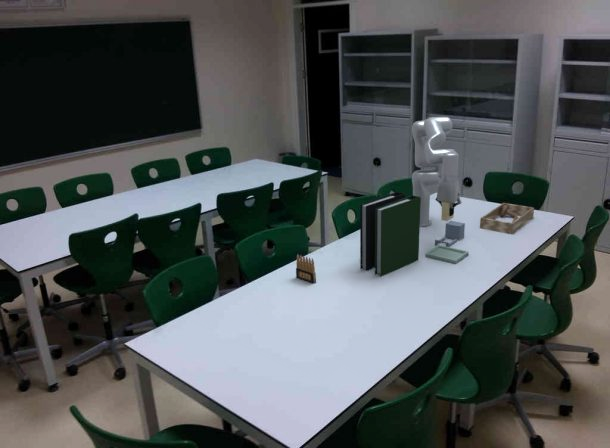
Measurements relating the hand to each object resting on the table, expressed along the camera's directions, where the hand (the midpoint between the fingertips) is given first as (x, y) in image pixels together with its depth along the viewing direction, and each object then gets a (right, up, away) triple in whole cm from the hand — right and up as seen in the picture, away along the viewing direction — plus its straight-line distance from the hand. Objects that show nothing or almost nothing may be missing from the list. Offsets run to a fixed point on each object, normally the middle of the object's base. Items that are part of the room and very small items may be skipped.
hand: (447, 214), depth 262 cm
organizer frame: (+46, -4, +45) cm, 65 cm away
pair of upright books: (-29, -24, -4) cm, 38 cm away
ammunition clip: (-69, -30, -17) cm, 78 cm away
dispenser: (+7, -14, +22) cm, 27 cm away
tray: (0, -20, +3) cm, 21 cm away
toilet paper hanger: (+46, -4, +47) cm, 66 cm away
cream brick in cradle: (0, -2, +1) cm, 2 cm away
